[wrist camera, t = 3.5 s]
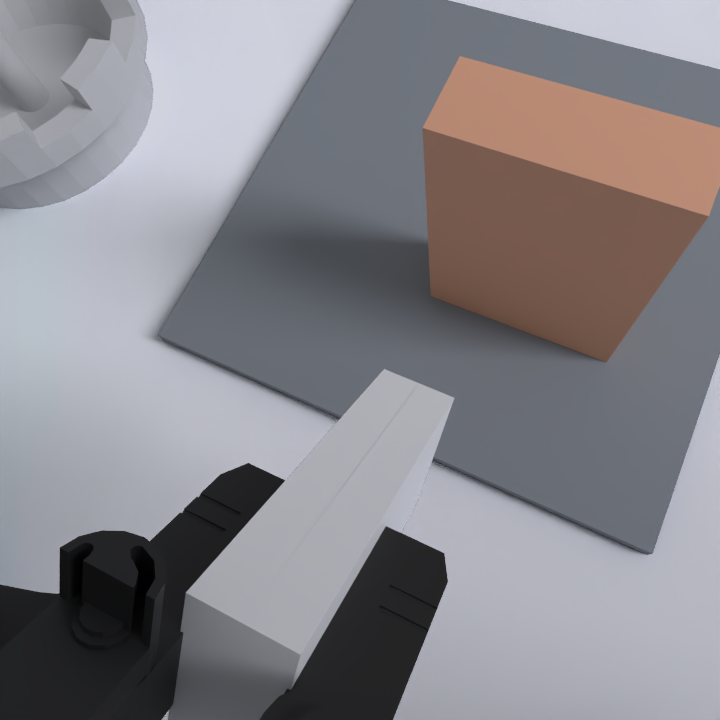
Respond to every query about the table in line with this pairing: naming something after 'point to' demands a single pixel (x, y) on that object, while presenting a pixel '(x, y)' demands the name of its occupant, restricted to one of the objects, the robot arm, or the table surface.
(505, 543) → the table surface
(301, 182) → the mat
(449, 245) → the card deck
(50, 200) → the flag stand
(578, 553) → the table surface
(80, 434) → the table surface
